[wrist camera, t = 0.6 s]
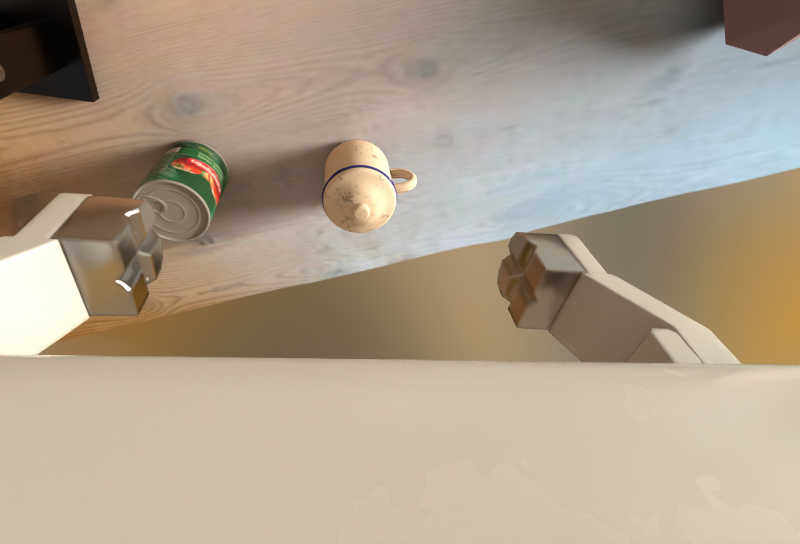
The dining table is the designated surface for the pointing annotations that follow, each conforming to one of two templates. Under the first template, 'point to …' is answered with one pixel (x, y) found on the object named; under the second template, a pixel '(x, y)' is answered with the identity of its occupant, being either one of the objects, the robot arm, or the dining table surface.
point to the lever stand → (44, 50)
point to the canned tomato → (184, 190)
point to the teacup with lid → (361, 186)
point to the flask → (761, 24)
